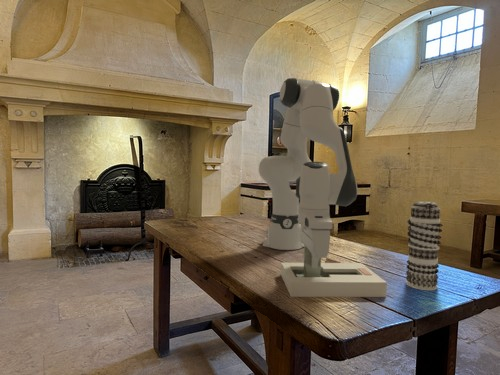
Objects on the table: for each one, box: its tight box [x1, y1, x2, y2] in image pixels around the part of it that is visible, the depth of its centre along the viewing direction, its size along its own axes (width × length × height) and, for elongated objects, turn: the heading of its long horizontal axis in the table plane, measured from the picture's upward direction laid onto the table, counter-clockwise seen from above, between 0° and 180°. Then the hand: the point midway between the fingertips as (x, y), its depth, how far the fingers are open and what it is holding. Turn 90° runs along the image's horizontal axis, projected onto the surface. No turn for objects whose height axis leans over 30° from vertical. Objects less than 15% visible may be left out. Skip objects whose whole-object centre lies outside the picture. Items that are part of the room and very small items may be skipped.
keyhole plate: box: [280, 262, 388, 298], centre depth 99 cm, size 18×26×4 cm
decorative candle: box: [405, 201, 443, 291], centre depth 100 cm, size 9×9×25 cm
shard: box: [324, 257, 341, 263], centre depth 119 cm, size 11×8×2 cm
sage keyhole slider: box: [295, 246, 325, 277], centre depth 99 cm, size 8×8×10 cm
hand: (311, 264), depth 99 cm, fingers closed on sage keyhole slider, 4 cm apart
